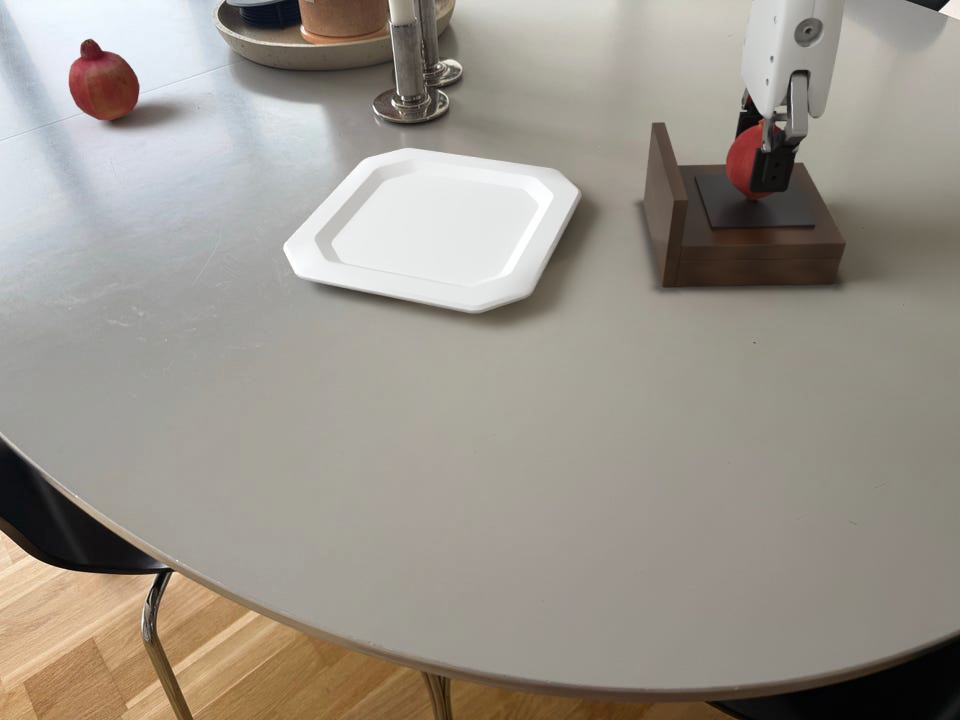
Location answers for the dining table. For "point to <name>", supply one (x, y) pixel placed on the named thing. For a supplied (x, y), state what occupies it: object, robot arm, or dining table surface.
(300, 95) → the dining table surface
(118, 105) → the fruit
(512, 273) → the plate
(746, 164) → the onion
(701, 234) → the wooden bookend stand
